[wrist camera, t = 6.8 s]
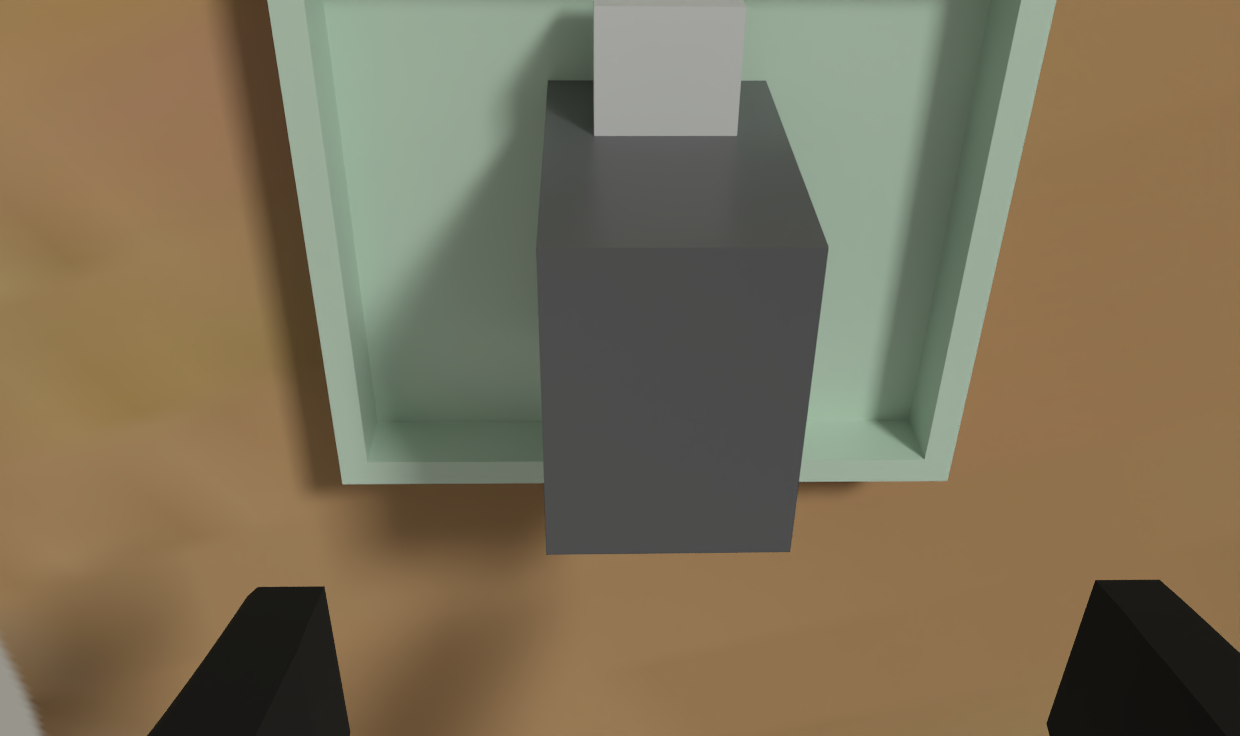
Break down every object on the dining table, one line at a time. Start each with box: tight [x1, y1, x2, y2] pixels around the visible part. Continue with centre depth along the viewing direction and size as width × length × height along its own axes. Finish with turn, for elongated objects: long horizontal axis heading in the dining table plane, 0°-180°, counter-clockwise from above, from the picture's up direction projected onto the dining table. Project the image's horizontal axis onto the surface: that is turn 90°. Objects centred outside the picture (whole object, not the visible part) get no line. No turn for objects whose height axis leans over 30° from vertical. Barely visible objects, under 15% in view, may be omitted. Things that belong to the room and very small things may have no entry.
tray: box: [267, 0, 1056, 484], centre depth 19 cm, size 10×11×2 cm
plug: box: [536, 0, 829, 555], centre depth 16 cm, size 7×3×6 cm, turn 179°
